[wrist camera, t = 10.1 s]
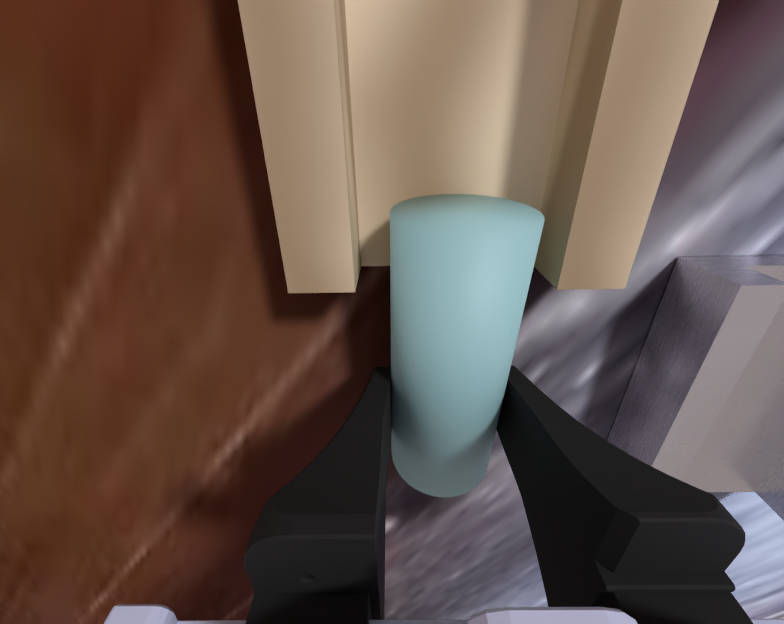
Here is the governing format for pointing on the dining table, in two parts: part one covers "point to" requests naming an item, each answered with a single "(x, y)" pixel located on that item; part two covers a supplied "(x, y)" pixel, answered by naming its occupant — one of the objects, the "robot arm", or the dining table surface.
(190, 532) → the dining table surface
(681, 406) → the v block
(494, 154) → the beige channel block
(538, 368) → the dining table surface
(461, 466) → the light blue cylinder
